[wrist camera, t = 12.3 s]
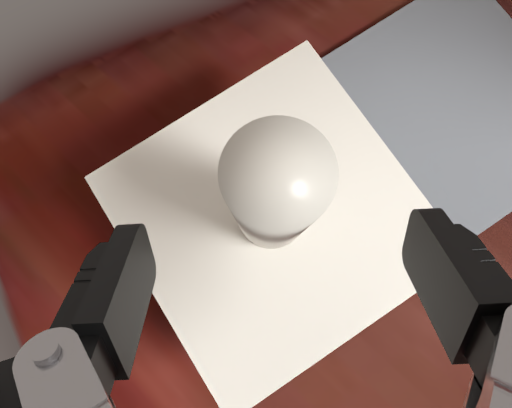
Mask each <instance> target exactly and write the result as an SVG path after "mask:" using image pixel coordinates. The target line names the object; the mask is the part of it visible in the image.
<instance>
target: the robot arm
mask: <svg viewBox="0 0 512 408" xmlns="http://www.w3.org/2000/svg"><path fill="white" fill-rule="evenodd" d="M402 260H403V264H404V267H405V270H406V272H407V274H408V276H409V278H410V280H411V282H412V284H413V286H414V288H415V290H416V292H417V294H418V296H419V298H420V300H421V302H422V304H423V306H424V308H425V310H426V312H427V314H428V317H429V319H430V321H431V323H432V325H433V327H434V329H435V331H436V333H437V335H438V337H439V339H440V341H441V343H442V345H443V347H444V349H445V351H446V353H447V355H448V357H449V359H450V361H451V363H452V364H469V365H470V367H471V369H472V371H473V372H474V373H473V374H472V376H471V379H470V382H469V386H468V390H467V393H466V397H465V401H464V405H463V408H512V279H511V278H510V277H509V276H508V274H507V273H506V272H505V271H504V269H503V268H502V267H501V265H500V264H499V263H498V262H496V261H495V258H494V257H493V255H492V254H491V253H490V252H489V251H487V248H486V247H485V245H484V244H483V243H482V241H481V240H480V239H479V238H478V236H477V235H476V234H474V233H473V232H471V231H470V230H468V229H467V228H466V227H464V226H463V225H461V224H453V223H452V221H451V220H450V218H449V217H448V216H447V214H446V213H445V212H444V210H443V209H441V208H427V209H414V210H412V212H411V214H410V217H409V221H408V225H407V230H406V234H405V238H404V242H403V247H402ZM155 279H156V263H155V258H154V255H153V251H152V248H151V244H150V241H149V237H148V234H147V230H146V227H145V225H144V224H142V223H141V224H123V225H117V226H116V227H115V229H114V231H113V233H112V235H111V237H110V240H109V242H103V243H99V244H98V245H97V246H96V247H95V248H94V249H93V250H92V251H91V252H89V253H88V254H87V256H86V258H85V260H84V262H83V264H82V265H81V267H80V272H78V273H77V275H76V277H75V279H74V284H72V285H71V287H70V289H69V291H68V293H67V295H66V297H65V299H64V301H63V303H62V305H61V307H60V309H59V311H58V313H57V315H56V317H55V319H54V321H53V323H52V325H51V327H50V329H48V330H45V331H43V332H41V333H39V334H37V335H36V336H34V337H33V338H31V339H30V340H29V341H28V342H26V343H25V344H24V345H23V346H22V348H21V349H20V350H19V351H18V353H17V354H16V356H15V357H13V358H11V359H8V360H5V361H2V362H0V408H116V406H115V404H114V402H113V400H112V398H111V396H110V394H111V390H112V387H113V384H114V380H129V378H130V374H131V370H132V366H133V362H134V359H135V355H136V351H137V347H138V344H139V340H140V336H141V332H142V328H143V325H144V321H145V317H146V313H147V310H148V306H149V302H150V298H151V294H152V291H153V287H154V283H155Z"/></svg>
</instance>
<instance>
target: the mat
mask: <svg viewBox="0 0 512 408" xmlns="http://www.w3.org/2000/svg"><path fill="white" fill-rule="evenodd" d="M321 59H322V61H323V62H324V63H325V65H326V66H327V67H328V69H329V70H330V71H331V73H332V74H333V75H334V77H335V78H336V79H337V81H338V82H339V83H340V85H341V86H342V87H343V89H344V90H345V91H346V92H347V94H348V95H349V96H350V98H351V99H352V100H353V102H354V103H355V104H356V106H357V107H358V108H359V110H360V111H361V112H362V114H363V115H364V116H365V118H366V119H367V120H368V122H369V123H370V124H371V126H372V127H373V128H374V130H375V131H376V132H377V134H378V135H379V136H380V138H381V139H382V140H383V142H384V143H385V144H386V146H387V147H388V148H389V150H390V151H391V152H392V154H393V155H394V156H395V158H396V159H397V160H398V162H399V163H400V164H401V166H402V167H403V168H404V170H405V171H406V172H407V174H408V175H409V176H410V178H411V179H412V180H413V182H414V183H415V184H416V186H417V187H418V188H419V190H420V191H421V192H422V194H423V195H424V196H425V198H426V199H427V200H428V202H429V203H430V204H431V206H432V207H433V208H441V209H443V210H444V212H445V213H446V214H447V216H448V217H449V218H450V220H451V221H452V223H453V224H461V225H463V226H464V227H466V228H467V229H468V230H470V231H471V232H473V233H474V234H476V235H478V234H480V233H481V232H483V231H484V230H486V229H487V228H489V227H490V226H491V225H493V224H494V223H496V222H497V221H499V220H500V219H501V218H503V217H504V216H506V215H507V214H509V213H510V212H512V18H511V17H510V16H509V15H508V14H507V12H506V11H505V10H504V9H503V8H502V7H501V6H500V4H499V3H498V2H497V1H496V0H414V1H413V2H411V3H409V4H408V5H406V6H404V7H403V8H401V9H400V10H398V11H396V12H395V13H393V14H392V15H390V16H388V17H387V18H385V19H384V20H382V21H380V22H379V23H377V24H376V25H374V26H372V27H371V28H369V29H368V30H366V31H364V32H363V33H361V34H360V35H358V36H356V37H355V38H353V39H352V40H350V41H348V42H347V43H345V44H344V45H342V46H340V47H339V48H337V49H336V50H334V51H332V52H331V53H329V54H327V55H326V56H324V57H323V58H321Z"/></svg>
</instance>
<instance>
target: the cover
mask: <svg viewBox="0 0 512 408" xmlns="http://www.w3.org/2000/svg"><path fill="white" fill-rule="evenodd" d="M84 178H85V179H86V181H87V183H88V185H89V186H90V188H91V190H92V191H93V193H94V195H95V196H96V198H97V200H98V202H99V203H100V205H101V207H102V208H103V210H104V212H105V213H106V215H107V217H108V219H109V220H110V222H111V224H112V225H113V227H114V229H115V227H116V226H117V225H123V224H141V223H142V224H144V225H145V227H146V230H147V234H148V237H149V241H150V244H151V248H152V251H153V255H154V258H155V263H156V279H155V283H154V287H153V291H152V293H153V295H154V297H155V299H156V300H157V302H158V304H159V305H160V307H161V309H162V311H163V312H164V314H165V316H166V317H167V319H168V321H169V322H170V324H171V326H172V328H173V329H174V331H175V333H176V334H177V336H178V338H179V339H180V341H181V343H182V345H183V346H184V348H185V350H186V351H187V353H188V355H189V356H190V358H191V360H192V362H193V363H194V365H195V367H196V368H197V370H198V372H199V374H200V375H201V377H202V379H203V380H204V382H205V384H206V385H207V387H208V389H209V391H210V392H211V394H212V396H213V397H214V399H215V401H216V402H217V404H218V406H219V408H252V407H253V406H255V405H256V404H257V403H259V402H260V401H262V400H263V399H265V398H266V397H268V396H269V395H270V394H272V393H273V392H275V391H276V390H278V389H279V388H280V387H282V386H283V385H285V384H286V383H288V382H289V381H290V380H292V379H293V378H295V377H296V376H298V375H299V374H300V373H302V372H303V371H305V370H306V369H308V368H309V367H311V366H312V365H313V364H315V363H316V362H318V361H319V360H321V359H322V358H323V357H325V356H326V355H328V354H329V353H331V352H332V351H333V350H335V349H336V348H338V347H339V346H341V345H342V344H343V343H345V342H346V341H348V340H349V339H351V338H352V337H354V336H355V335H356V334H358V333H359V332H361V331H362V330H364V329H365V328H366V327H368V326H369V325H371V324H372V323H374V322H375V321H376V320H378V319H379V318H381V317H382V316H384V315H385V314H387V313H388V312H389V311H391V310H392V309H394V308H395V307H397V306H398V305H399V304H401V303H402V302H404V301H405V300H407V299H408V298H409V297H411V296H412V295H414V294H415V293H417V292H416V290H415V288H414V286H413V284H412V282H411V280H410V278H409V276H408V274H407V272H406V270H405V267H404V264H403V260H402V247H403V242H404V238H405V234H406V230H407V225H408V221H409V217H410V214H411V212H412V210H414V209H427V208H433V207H432V206H431V204H430V203H429V202H428V200H427V199H426V198H425V196H424V195H423V194H422V192H421V191H420V190H419V188H418V187H417V186H416V184H415V183H414V182H413V180H412V179H411V178H410V176H409V175H408V174H407V172H406V171H405V170H404V168H403V167H402V166H401V164H400V163H399V162H398V160H397V159H396V158H395V156H394V155H393V154H392V152H391V151H390V150H389V148H388V147H387V146H386V144H385V143H384V142H383V140H382V139H381V138H380V136H379V135H378V134H377V132H376V131H375V130H374V128H373V127H372V126H371V124H370V123H369V122H368V120H367V119H366V118H365V116H364V115H363V114H362V112H361V111H360V110H359V108H358V107H357V106H356V104H355V103H354V102H353V100H352V99H351V98H350V96H349V95H348V94H347V92H346V91H345V90H344V89H343V87H342V86H341V85H340V83H339V82H338V81H337V79H336V78H335V77H334V75H333V74H332V73H331V71H330V70H329V69H328V67H327V66H326V65H325V63H324V62H323V61H322V59H321V58H320V57H319V55H318V54H317V53H316V51H315V50H314V49H313V47H312V46H311V45H310V43H309V42H308V41H307V40H306V41H305V42H303V43H302V44H300V45H298V46H297V47H295V48H293V49H292V50H290V51H289V52H287V53H285V54H284V55H282V56H280V57H279V58H277V59H276V60H274V61H272V62H271V63H269V64H267V65H266V66H264V67H263V68H261V69H259V70H258V71H256V72H254V73H253V74H251V75H250V76H248V77H246V78H245V79H243V80H241V81H240V82H238V83H237V84H235V85H233V86H232V87H230V88H228V89H227V90H225V91H224V92H222V93H220V94H219V95H217V96H215V97H214V98H212V99H210V100H209V101H207V102H206V103H204V104H202V105H201V106H199V107H197V108H196V109H194V110H193V111H191V112H189V113H188V114H186V115H184V116H183V117H181V118H180V119H178V120H176V121H175V122H173V123H171V124H170V125H168V126H167V127H165V128H163V129H162V130H160V131H158V132H157V133H155V134H154V135H152V136H150V137H149V138H147V139H145V140H144V141H142V142H141V143H139V144H137V145H136V146H134V147H132V148H131V149H129V150H128V151H126V152H124V153H123V154H121V155H119V156H118V157H116V158H115V159H113V160H111V161H110V162H108V163H106V164H105V165H103V166H102V167H100V168H98V169H97V170H95V171H93V172H92V173H90V174H89V175H87V176H85V177H84Z"/></svg>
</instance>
